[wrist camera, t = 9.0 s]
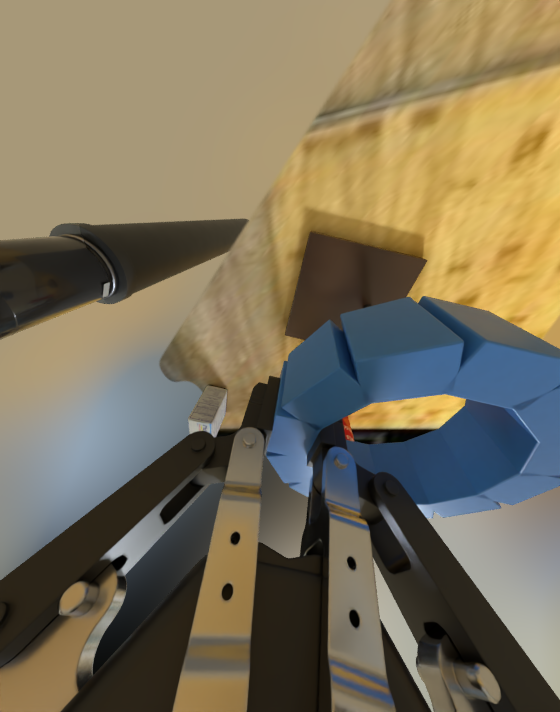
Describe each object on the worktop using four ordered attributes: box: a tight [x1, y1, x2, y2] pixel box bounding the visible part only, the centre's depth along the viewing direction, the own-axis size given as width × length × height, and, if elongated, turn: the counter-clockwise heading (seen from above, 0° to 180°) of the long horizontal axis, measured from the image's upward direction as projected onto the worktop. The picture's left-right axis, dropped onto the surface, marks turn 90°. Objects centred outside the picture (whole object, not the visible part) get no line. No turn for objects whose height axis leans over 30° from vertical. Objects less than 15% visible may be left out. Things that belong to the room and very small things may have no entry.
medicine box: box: [188, 385, 227, 437], centre depth 40 cm, size 8×4×9 cm, turn 168°
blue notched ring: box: [266, 296, 560, 518], centre depth 11 cm, size 14×14×4 cm
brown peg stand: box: [285, 231, 427, 340], centre depth 23 cm, size 14×14×13 cm
